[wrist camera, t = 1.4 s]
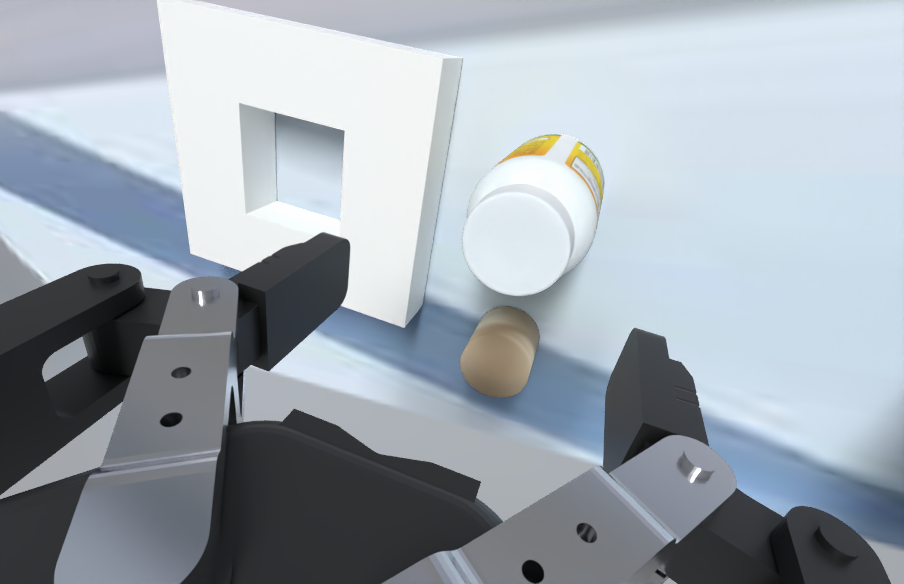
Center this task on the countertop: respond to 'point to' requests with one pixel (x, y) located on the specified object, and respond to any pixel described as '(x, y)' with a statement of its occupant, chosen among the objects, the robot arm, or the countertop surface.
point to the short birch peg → (501, 352)
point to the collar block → (319, 101)
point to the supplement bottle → (534, 215)
